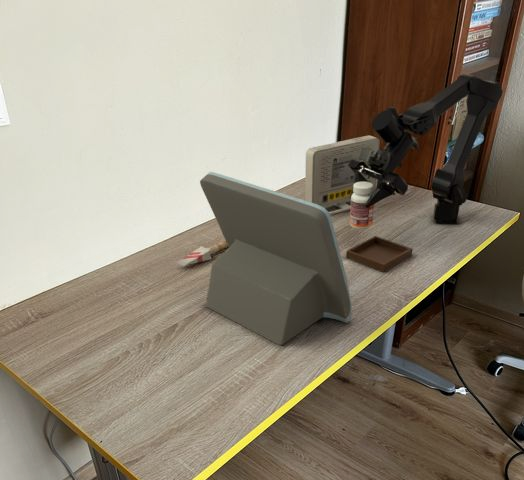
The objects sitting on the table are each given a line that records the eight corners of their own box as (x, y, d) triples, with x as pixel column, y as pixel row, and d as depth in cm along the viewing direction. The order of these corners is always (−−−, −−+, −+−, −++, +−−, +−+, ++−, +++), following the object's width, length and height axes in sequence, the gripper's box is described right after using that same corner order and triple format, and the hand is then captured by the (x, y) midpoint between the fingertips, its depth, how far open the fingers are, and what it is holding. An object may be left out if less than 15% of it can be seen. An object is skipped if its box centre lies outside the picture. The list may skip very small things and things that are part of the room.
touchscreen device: (355, 318, 126) (362, 190, 108) (298, 358, 116) (296, 224, 98) (249, 270, 147) (239, 156, 129) (192, 301, 136) (173, 181, 118)
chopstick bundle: (174, 257, 148) (227, 235, 160) (175, 266, 149) (227, 244, 162) (184, 261, 146) (236, 238, 158) (185, 270, 147) (237, 247, 160)
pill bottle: (372, 230, 150) (376, 189, 143) (349, 229, 150) (351, 189, 144) (371, 220, 155) (374, 180, 148) (349, 220, 155) (351, 180, 149)
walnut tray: (374, 242, 158) (375, 235, 157) (411, 255, 151) (412, 248, 150) (346, 258, 151) (346, 250, 150) (383, 272, 144) (384, 264, 143)
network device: (363, 193, 190) (367, 133, 179) (380, 201, 184) (385, 139, 172) (301, 210, 180) (301, 147, 168) (316, 218, 174) (318, 153, 162)
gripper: (355, 127, 147) (320, 177, 149) (404, 143, 134) (365, 197, 136) (376, 151, 155) (342, 199, 157) (424, 169, 141) (387, 220, 144)
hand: (358, 203), depth 148 cm, fingers closed on pill bottle, 6 cm apart
